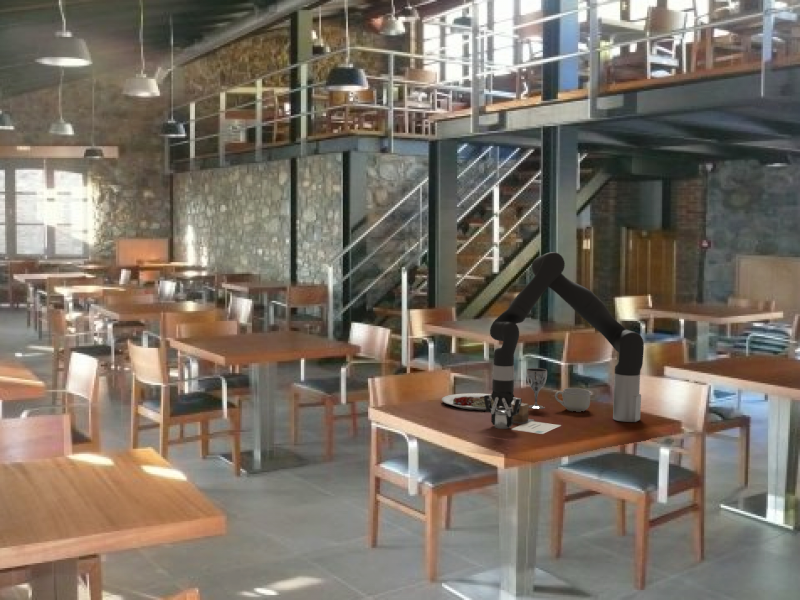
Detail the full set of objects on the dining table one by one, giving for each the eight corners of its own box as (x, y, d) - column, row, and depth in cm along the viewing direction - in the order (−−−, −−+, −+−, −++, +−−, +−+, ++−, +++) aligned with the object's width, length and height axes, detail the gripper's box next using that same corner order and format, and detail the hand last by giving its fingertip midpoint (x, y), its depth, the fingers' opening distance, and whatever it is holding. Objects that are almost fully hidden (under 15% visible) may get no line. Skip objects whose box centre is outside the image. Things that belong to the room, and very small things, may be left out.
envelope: (561, 426, 325) (561, 425, 325) (542, 435, 311) (542, 433, 311) (530, 422, 331) (530, 421, 331) (510, 430, 317) (510, 429, 317)
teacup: (588, 408, 360) (589, 388, 359) (591, 413, 349) (592, 393, 348) (553, 407, 361) (553, 387, 360) (555, 412, 350) (555, 391, 350)
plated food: (532, 408, 359) (532, 400, 358) (469, 414, 344) (469, 406, 344) (488, 395, 385) (488, 387, 384) (427, 401, 370) (427, 393, 370)
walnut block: (528, 420, 333) (528, 403, 332) (522, 422, 329) (522, 406, 328) (515, 418, 336) (516, 402, 335) (509, 420, 331) (510, 404, 331)
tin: (512, 427, 321) (512, 411, 321) (505, 430, 317) (506, 413, 316) (498, 425, 324) (498, 409, 324) (491, 428, 320) (492, 411, 319)
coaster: (535, 420, 334) (535, 419, 334) (524, 425, 326) (525, 424, 326) (512, 417, 338) (512, 416, 338) (502, 422, 331) (502, 420, 331)
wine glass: (547, 409, 356) (548, 371, 355) (526, 408, 356) (528, 370, 355) (544, 405, 364) (545, 368, 363) (524, 405, 364) (525, 367, 363)
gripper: (526, 378, 318) (525, 426, 320) (489, 374, 326) (488, 421, 327) (517, 381, 312) (516, 430, 313) (480, 377, 320) (478, 424, 321)
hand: (502, 425), depth 320 cm, fingers closed on tin, 5 cm apart
